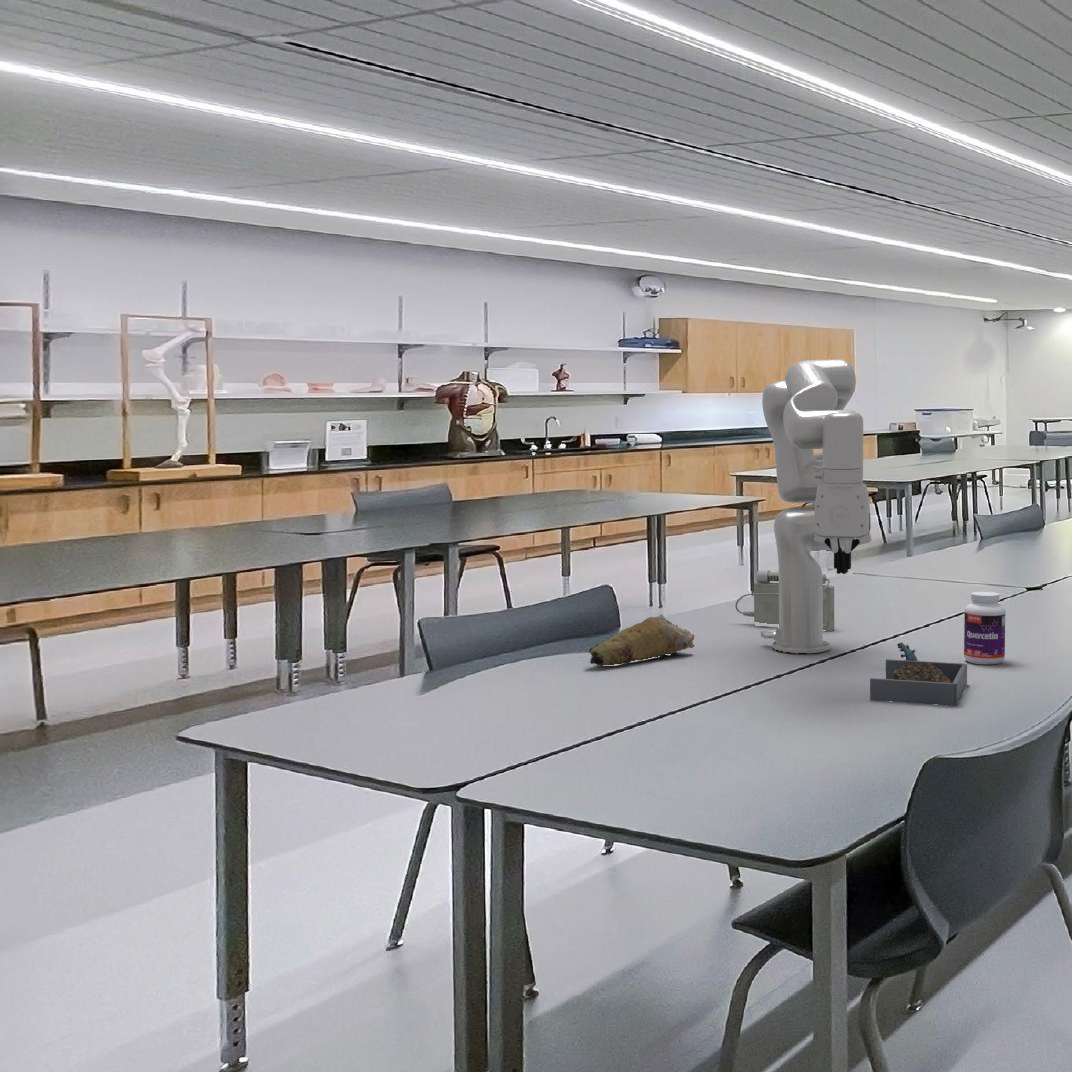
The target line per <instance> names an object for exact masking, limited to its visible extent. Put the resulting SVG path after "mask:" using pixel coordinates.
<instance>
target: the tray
mask: <svg viewBox="0 0 1072 1072" xmlns="http://www.w3.org/2000/svg"><path fill="white" fill-rule="evenodd" d="M918 663H919V664H923V663H924V664H927V663H931V664H932V665H933V666H935V667H936V668H938V669H940V670H941V671H942V672H943V673H944V675H945V676H946V677H947V678H949V680H950V681H952V682H953V683H943V682H927V681H911V680H894V677H893V673H894V671H895V670H898V669H900V668H901V667H902V666H903V665H907V664H918ZM869 686H870V687H869V700H870V701H874V702H875V701H876V702H877V701H878V702H889V701H893V702H892V703H903V702H905V703H906V704H920V705H921V704H922V705H932V704H938V705H937V706H946V705H947V706H946V707H949V706H950V707H955V706H956V707H957V705H958V704H959V702H960V700H961V698H962V697H963V693H964V692H965V689H966V687H967V686H968V663H964V662H963V663H959V662H945V661H944V662H941V661H926V660H918V661H910V660H906V659H890V658H888V659H885V678H877V677H876V678H875V677H870V678H869Z"/></svg>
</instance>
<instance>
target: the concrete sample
mask: <svg viewBox="0 0 1072 1072" xmlns="http://www.w3.org/2000/svg"><path fill="white" fill-rule="evenodd" d="M893 677H894V680H911V681H927V682H943V683H953V682H952V681H950V680H949V678H947V677H946V676H945V675H944V673H943V672H942V671H941V670H940V669H938V668H936V667H935V666H933V665H932V664H931V663H927V664H924V663H923V664H919V663H918V664H907V665H903V666H902V667H901V668H900V669H898V670H895V671H894V673H893Z"/></svg>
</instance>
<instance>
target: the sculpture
mask: <svg viewBox="0 0 1072 1072" xmlns="http://www.w3.org/2000/svg"><path fill="white" fill-rule="evenodd" d="M897 649H898V650H899V651H900V652H903V654H902V653H901V654H900V658H901V659H903V658H905V660H910V661H919V660H918V658H917V656H916V654H915V653H916V649H911V648H910V645H909V644H904V643H903V642H898V643H897Z"/></svg>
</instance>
